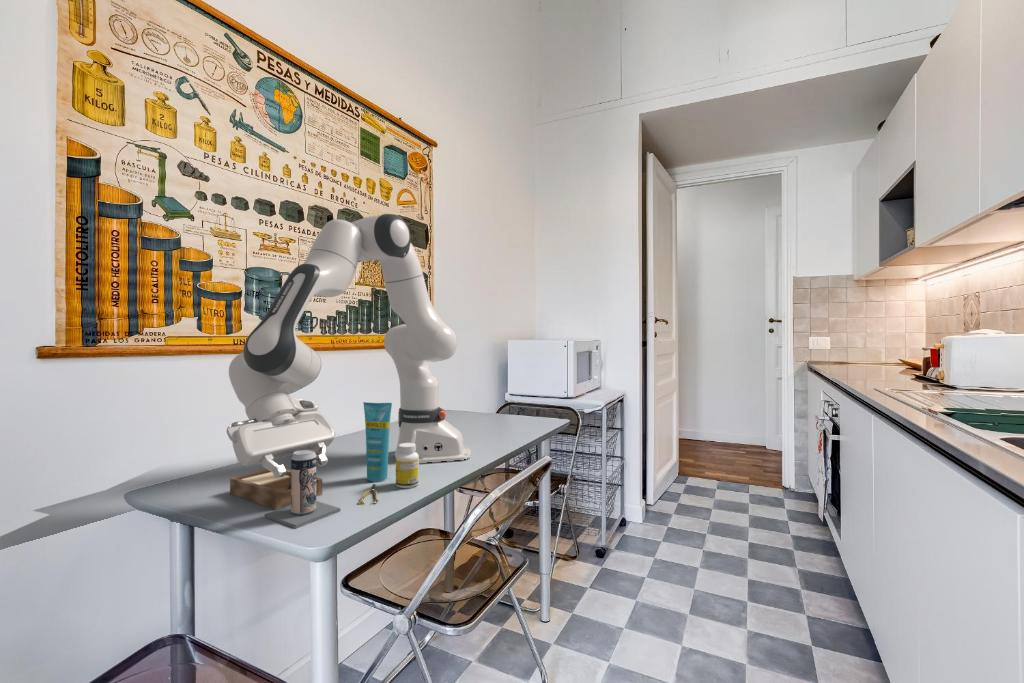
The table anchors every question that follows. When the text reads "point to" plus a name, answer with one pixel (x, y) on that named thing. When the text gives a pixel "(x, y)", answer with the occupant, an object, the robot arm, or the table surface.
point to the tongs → (367, 494)
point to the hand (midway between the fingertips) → (303, 469)
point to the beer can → (303, 482)
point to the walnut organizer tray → (266, 488)
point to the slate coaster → (296, 520)
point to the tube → (377, 439)
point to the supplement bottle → (407, 466)
